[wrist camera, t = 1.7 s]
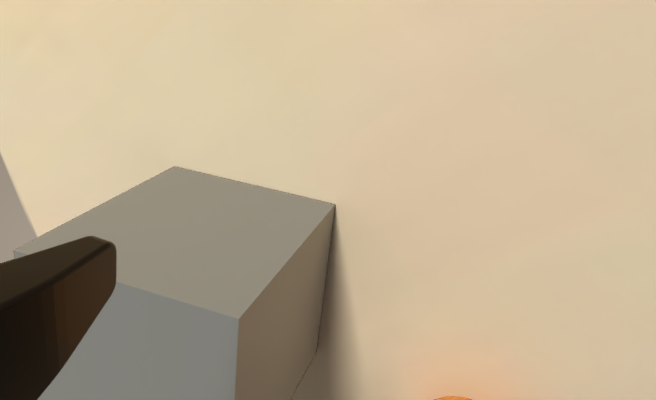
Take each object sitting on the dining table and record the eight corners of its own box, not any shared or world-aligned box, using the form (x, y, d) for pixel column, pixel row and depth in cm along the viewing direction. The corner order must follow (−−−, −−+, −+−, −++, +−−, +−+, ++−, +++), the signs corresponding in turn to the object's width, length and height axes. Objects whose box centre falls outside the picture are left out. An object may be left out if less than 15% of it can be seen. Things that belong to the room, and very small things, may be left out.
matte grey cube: (316, 351, 26) (228, 510, 18) (174, 307, 28) (38, 434, 20) (335, 204, 23) (238, 318, 15) (174, 166, 24) (13, 250, 17)
